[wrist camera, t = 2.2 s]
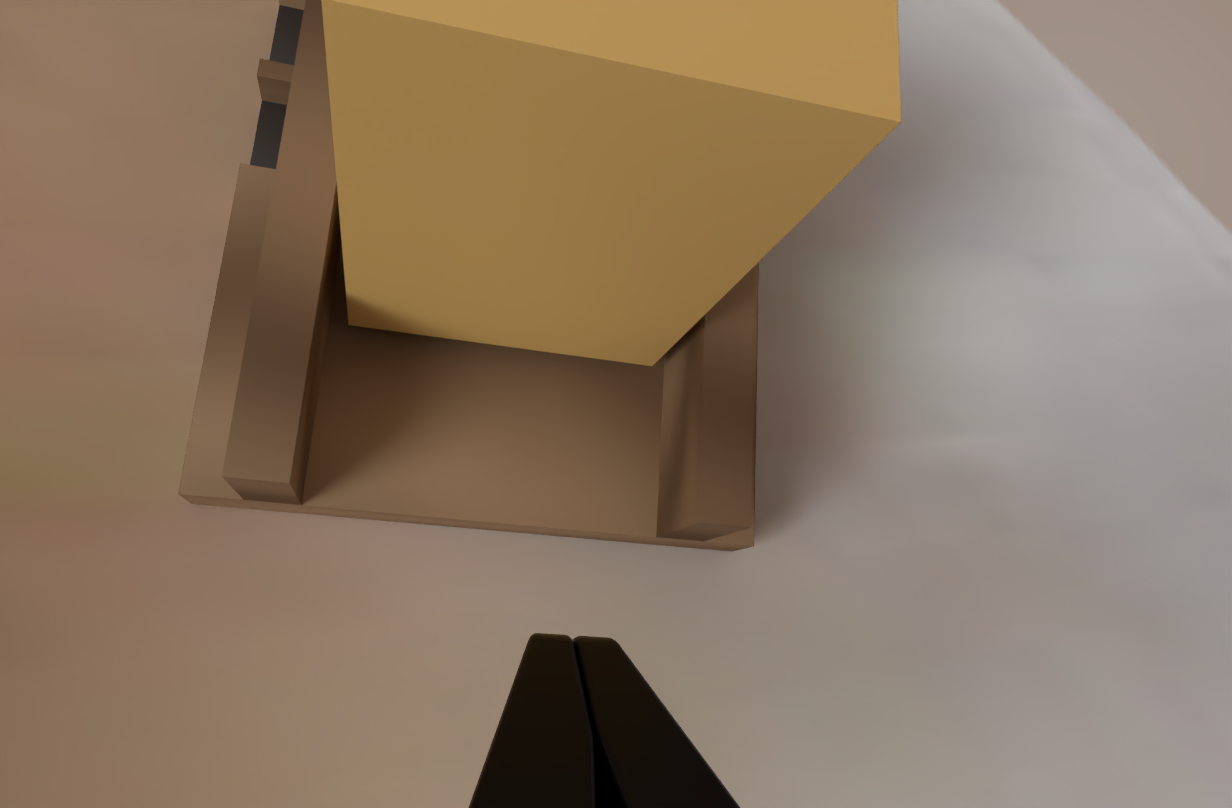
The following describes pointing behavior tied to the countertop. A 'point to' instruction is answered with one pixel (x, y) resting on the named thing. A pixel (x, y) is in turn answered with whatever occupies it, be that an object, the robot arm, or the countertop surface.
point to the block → (588, 156)
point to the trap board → (443, 380)
